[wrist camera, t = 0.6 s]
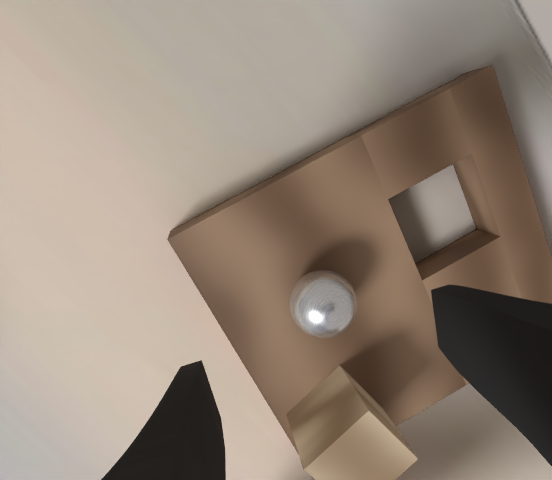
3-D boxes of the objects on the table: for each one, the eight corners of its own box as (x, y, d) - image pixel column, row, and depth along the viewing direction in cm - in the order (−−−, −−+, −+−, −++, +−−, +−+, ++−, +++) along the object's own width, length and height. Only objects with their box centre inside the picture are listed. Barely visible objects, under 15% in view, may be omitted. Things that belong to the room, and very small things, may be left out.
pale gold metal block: (331, 454, 23) (356, 514, 20) (286, 414, 22) (303, 469, 18) (382, 407, 23) (418, 458, 20) (339, 365, 22) (368, 410, 18)
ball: (300, 331, 21) (317, 362, 18) (273, 281, 20) (285, 305, 17) (353, 302, 22) (378, 327, 18) (328, 251, 21) (350, 269, 18)
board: (303, 450, 25) (311, 475, 23) (170, 231, 21) (167, 239, 19) (545, 310, 26) (572, 323, 24) (467, 72, 22) (493, 65, 20)
